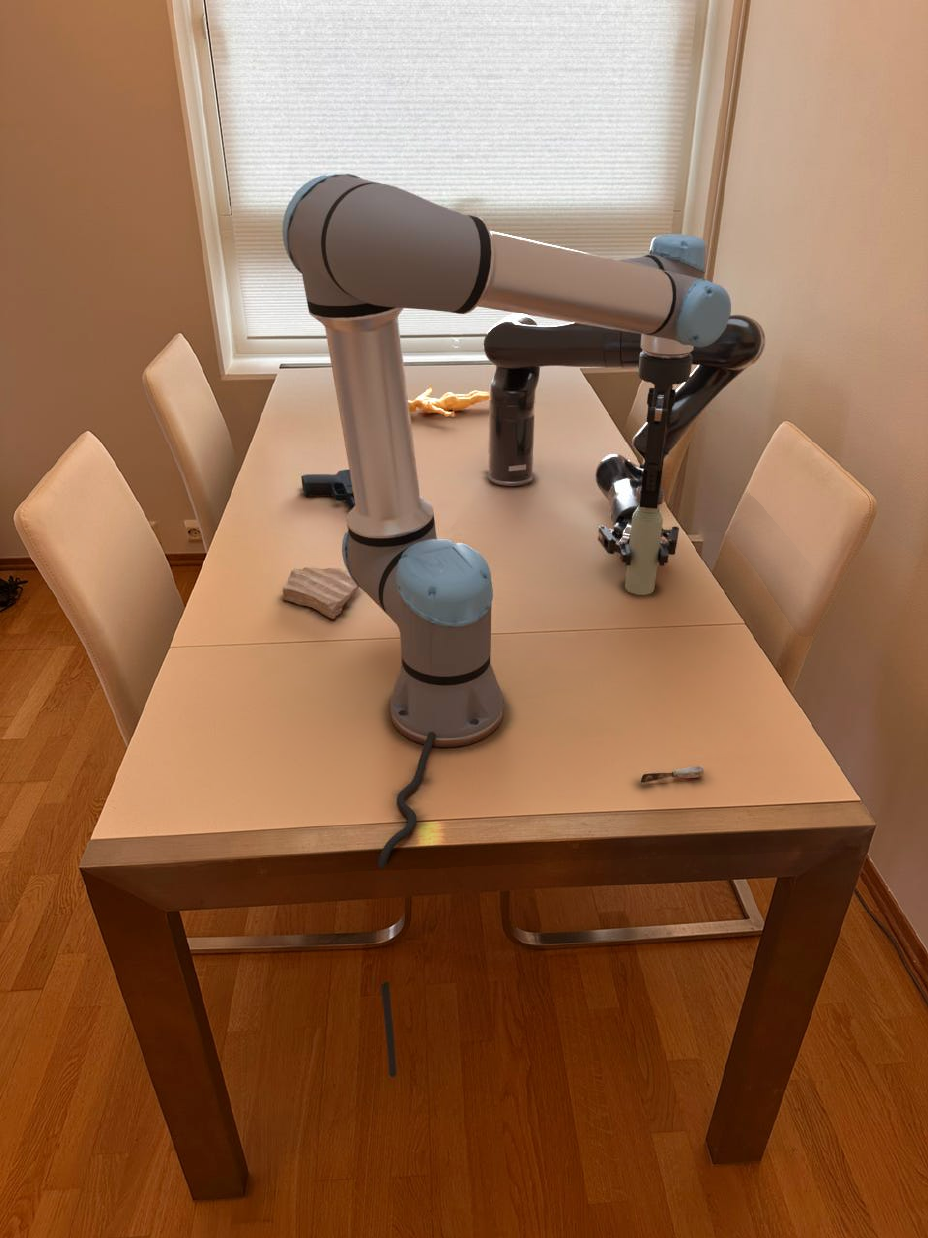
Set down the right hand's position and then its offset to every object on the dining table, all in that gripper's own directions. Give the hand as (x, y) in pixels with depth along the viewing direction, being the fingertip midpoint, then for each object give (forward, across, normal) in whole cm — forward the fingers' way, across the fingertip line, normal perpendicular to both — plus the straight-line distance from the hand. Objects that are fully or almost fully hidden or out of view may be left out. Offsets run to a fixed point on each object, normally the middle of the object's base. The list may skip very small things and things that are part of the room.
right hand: (645, 560), depth 144 cm
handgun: (-36, -56, +7) cm, 67 cm away
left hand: (-3, 0, -9) cm, 10 cm away
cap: (-3, 0, -11) cm, 11 cm away
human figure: (-91, -36, +7) cm, 99 cm away
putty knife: (+45, -2, +7) cm, 45 cm away
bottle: (-3, 0, +7) cm, 7 cm away
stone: (+3, -53, +7) cm, 53 cm away
